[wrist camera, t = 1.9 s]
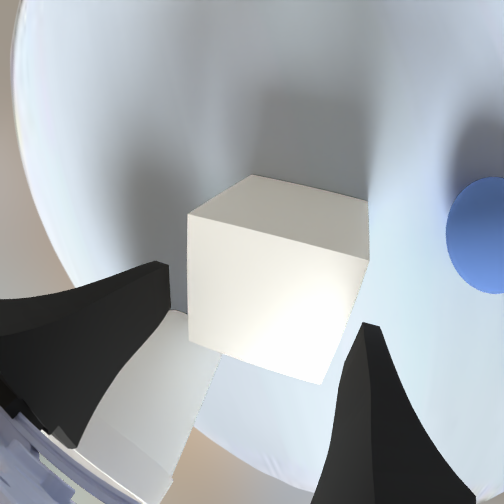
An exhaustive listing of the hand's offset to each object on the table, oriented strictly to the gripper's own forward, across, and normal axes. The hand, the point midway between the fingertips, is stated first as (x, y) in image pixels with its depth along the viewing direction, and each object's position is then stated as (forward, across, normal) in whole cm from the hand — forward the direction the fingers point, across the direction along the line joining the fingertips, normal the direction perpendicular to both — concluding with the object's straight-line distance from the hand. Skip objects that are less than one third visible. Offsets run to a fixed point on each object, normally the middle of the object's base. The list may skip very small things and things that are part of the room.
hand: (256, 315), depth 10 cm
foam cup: (+7, +7, +11) cm, 15 cm away
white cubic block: (+7, 0, 0) cm, 7 cm away
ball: (+4, -9, -4) cm, 11 cm away
